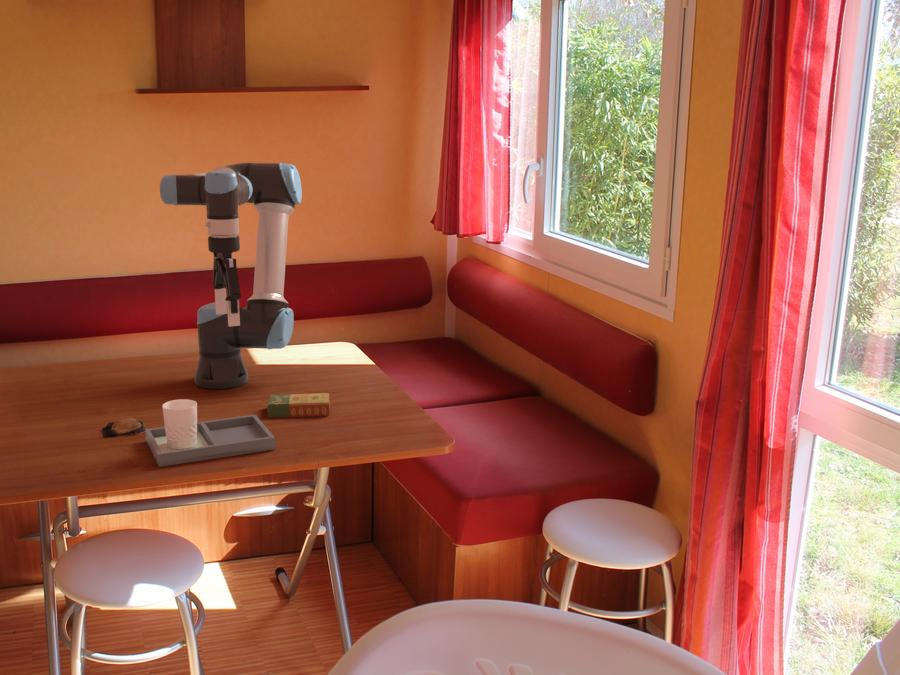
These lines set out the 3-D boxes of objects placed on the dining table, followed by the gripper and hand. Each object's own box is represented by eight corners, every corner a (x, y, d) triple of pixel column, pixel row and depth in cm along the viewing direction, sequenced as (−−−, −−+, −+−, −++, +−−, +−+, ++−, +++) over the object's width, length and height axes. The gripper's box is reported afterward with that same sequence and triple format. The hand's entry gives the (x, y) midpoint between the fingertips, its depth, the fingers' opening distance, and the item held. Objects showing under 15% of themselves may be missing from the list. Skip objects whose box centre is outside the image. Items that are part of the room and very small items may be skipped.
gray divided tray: (145, 441, 239) (145, 429, 238) (255, 425, 250) (255, 414, 250) (158, 466, 223) (157, 454, 223) (275, 449, 235) (274, 437, 234)
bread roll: (144, 424, 252) (143, 411, 251) (149, 435, 245) (148, 421, 244) (100, 430, 248) (99, 416, 247) (104, 441, 240) (103, 427, 239)
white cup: (170, 438, 238) (168, 398, 235) (203, 439, 238) (201, 399, 235) (160, 450, 230) (157, 409, 228) (194, 451, 230) (191, 410, 227)
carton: (329, 417, 258) (329, 401, 257) (267, 419, 257) (266, 403, 256) (330, 406, 266) (329, 391, 265) (269, 408, 265) (269, 393, 264)
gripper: (197, 229, 251) (202, 310, 256) (219, 243, 229) (224, 332, 234) (227, 227, 254) (231, 308, 259) (251, 241, 232) (255, 329, 238)
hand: (227, 319), depth 247 cm, fingers open, 13 cm apart
